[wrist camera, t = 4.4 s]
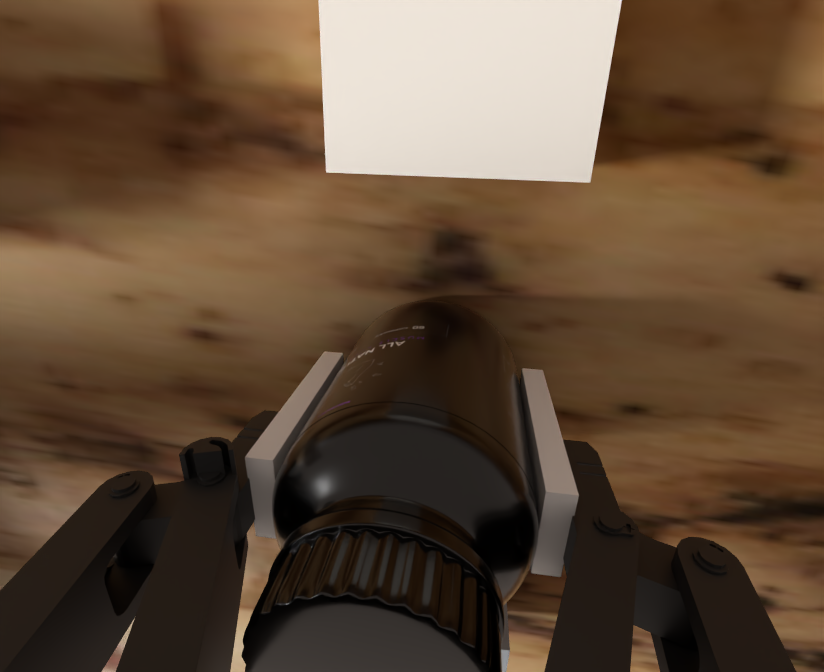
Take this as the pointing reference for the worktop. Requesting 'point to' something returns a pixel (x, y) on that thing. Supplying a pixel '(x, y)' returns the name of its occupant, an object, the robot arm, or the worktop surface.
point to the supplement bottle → (402, 507)
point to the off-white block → (465, 86)
